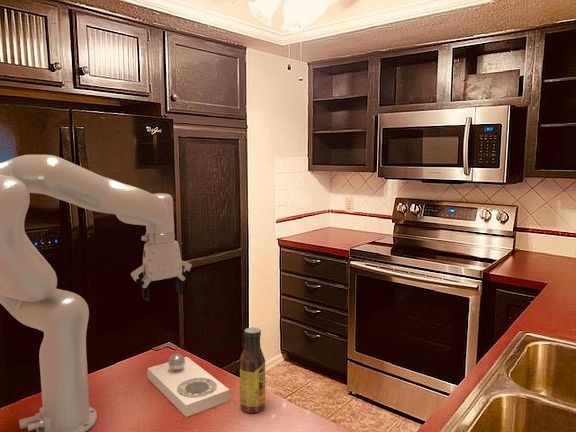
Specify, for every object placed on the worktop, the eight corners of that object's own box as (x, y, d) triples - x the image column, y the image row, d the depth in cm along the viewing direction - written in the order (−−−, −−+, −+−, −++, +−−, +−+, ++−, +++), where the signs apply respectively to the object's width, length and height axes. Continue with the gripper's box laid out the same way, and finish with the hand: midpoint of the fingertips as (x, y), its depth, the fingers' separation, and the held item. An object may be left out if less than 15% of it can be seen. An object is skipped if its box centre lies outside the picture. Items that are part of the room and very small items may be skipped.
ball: (172, 375, 122) (172, 359, 122) (165, 369, 126) (165, 353, 125) (187, 370, 125) (187, 355, 125) (180, 364, 129) (180, 349, 128)
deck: (186, 417, 108) (186, 405, 108) (147, 378, 127) (147, 368, 126) (229, 400, 116) (229, 389, 115) (187, 366, 134) (187, 356, 134)
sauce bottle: (264, 414, 110) (264, 336, 107) (238, 414, 110) (238, 335, 107) (266, 400, 116) (266, 325, 113) (241, 399, 116) (241, 325, 114)
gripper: (133, 244, 119) (137, 306, 122) (195, 236, 129) (197, 294, 132) (125, 239, 125) (128, 299, 128) (184, 232, 135) (186, 287, 138)
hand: (163, 296), depth 130 cm, fingers open, 9 cm apart
